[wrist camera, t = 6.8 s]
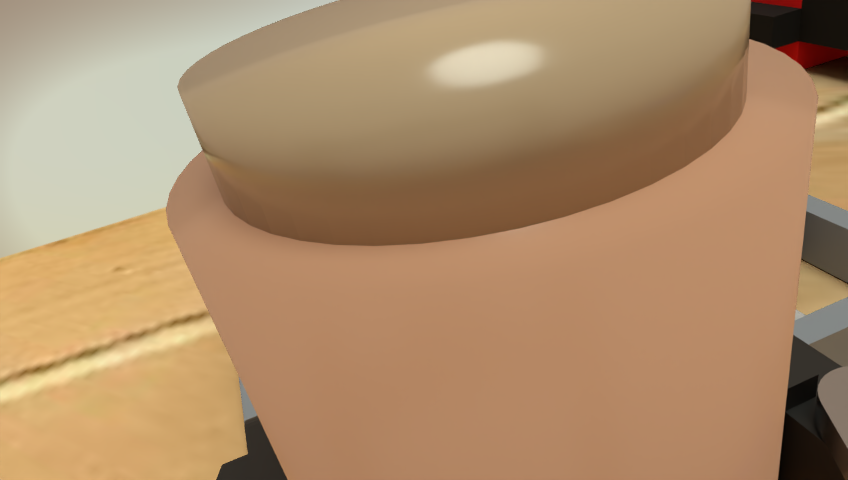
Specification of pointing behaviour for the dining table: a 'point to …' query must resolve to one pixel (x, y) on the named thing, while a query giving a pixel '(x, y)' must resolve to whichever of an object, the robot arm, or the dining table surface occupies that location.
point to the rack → (823, 329)
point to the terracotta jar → (504, 236)
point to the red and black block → (802, 28)
